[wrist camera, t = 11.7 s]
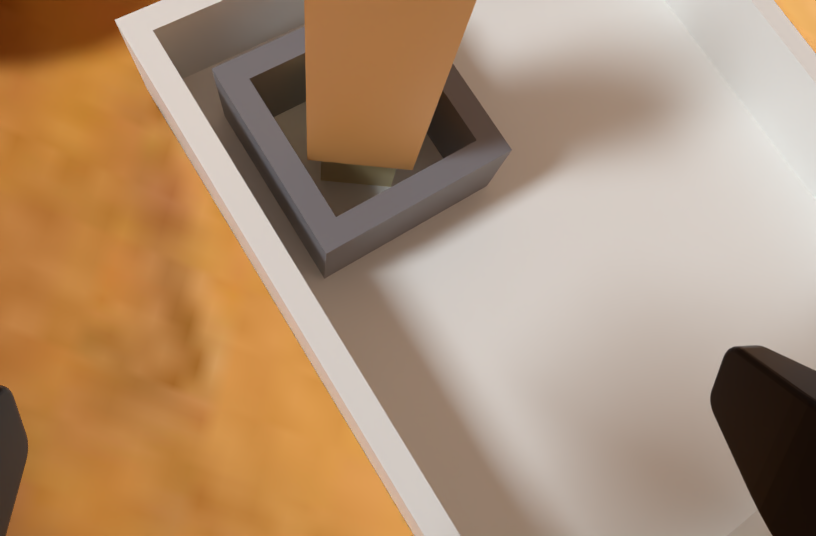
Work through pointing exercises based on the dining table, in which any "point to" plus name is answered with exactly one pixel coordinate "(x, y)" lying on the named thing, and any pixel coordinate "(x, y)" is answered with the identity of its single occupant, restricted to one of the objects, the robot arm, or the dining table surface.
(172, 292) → the dining table surface
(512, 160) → the walled tray
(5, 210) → the dining table surface
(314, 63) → the tan square peg
